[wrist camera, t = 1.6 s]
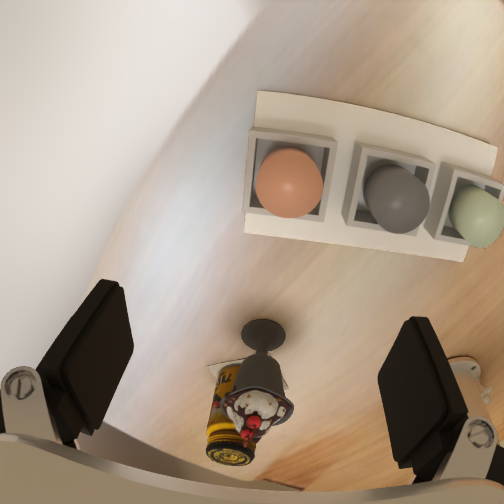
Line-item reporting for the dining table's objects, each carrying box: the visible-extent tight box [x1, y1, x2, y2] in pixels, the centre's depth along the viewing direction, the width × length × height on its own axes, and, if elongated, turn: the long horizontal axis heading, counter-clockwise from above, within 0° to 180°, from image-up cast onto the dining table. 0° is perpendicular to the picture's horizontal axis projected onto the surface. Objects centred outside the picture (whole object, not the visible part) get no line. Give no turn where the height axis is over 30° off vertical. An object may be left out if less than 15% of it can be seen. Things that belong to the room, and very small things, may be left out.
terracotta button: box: [256, 146, 323, 218], centre depth 22 cm, size 4×4×3 cm
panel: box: [242, 90, 504, 262], centre depth 24 cm, size 22×12×4 cm, turn 85°
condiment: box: [206, 354, 288, 466], centre depth 34 cm, size 7×8×12 cm
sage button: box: [448, 185, 504, 248], centre depth 21 cm, size 4×4×3 cm
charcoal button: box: [363, 164, 430, 234], centre depth 22 cm, size 4×4×3 cm
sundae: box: [220, 320, 294, 447], centre depth 29 cm, size 7×7×15 cm
